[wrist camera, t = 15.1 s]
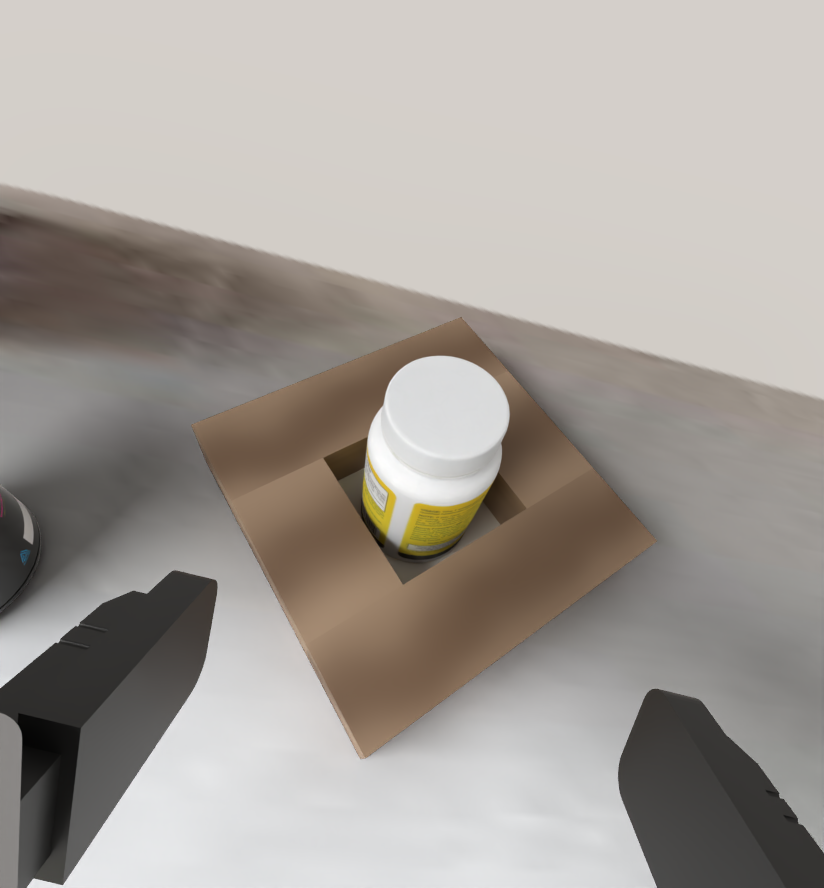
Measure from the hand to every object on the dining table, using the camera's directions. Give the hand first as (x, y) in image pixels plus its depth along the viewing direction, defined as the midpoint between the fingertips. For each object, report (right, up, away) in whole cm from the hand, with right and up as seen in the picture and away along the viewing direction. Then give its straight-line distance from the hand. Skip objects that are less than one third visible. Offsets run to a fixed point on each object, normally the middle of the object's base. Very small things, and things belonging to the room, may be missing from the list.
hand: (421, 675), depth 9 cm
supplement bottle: (0, 0, +18) cm, 18 cm away
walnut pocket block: (0, 0, +18) cm, 18 cm away
